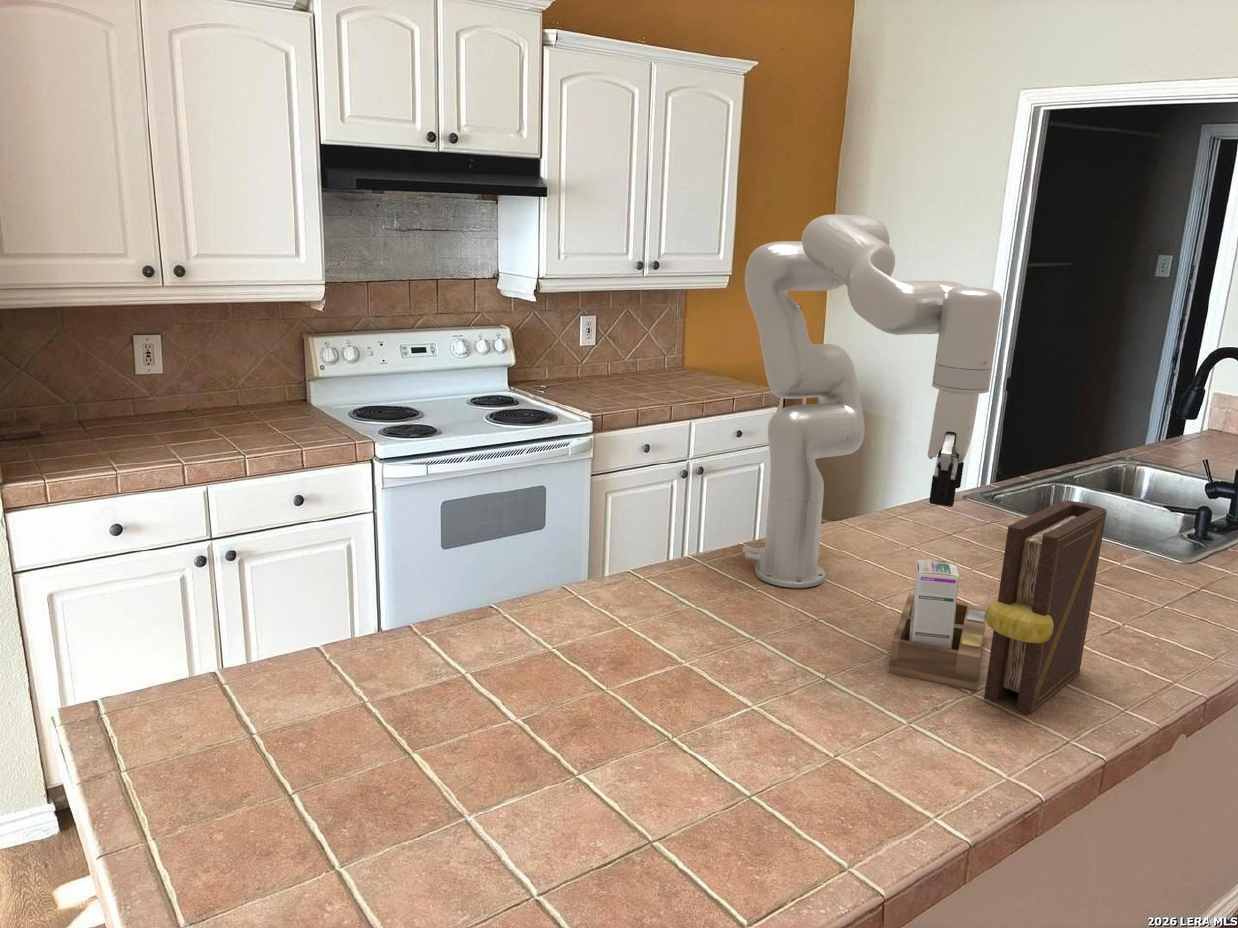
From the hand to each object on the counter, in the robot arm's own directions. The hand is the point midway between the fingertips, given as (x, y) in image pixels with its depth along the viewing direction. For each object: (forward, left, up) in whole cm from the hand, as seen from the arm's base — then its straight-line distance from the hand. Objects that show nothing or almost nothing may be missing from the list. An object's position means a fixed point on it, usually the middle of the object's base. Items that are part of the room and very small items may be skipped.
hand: (945, 495), depth 137 cm
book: (+15, -3, -26) cm, 30 cm away
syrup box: (+1, -3, -25) cm, 25 cm away
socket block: (+2, +2, -25) cm, 25 cm away
